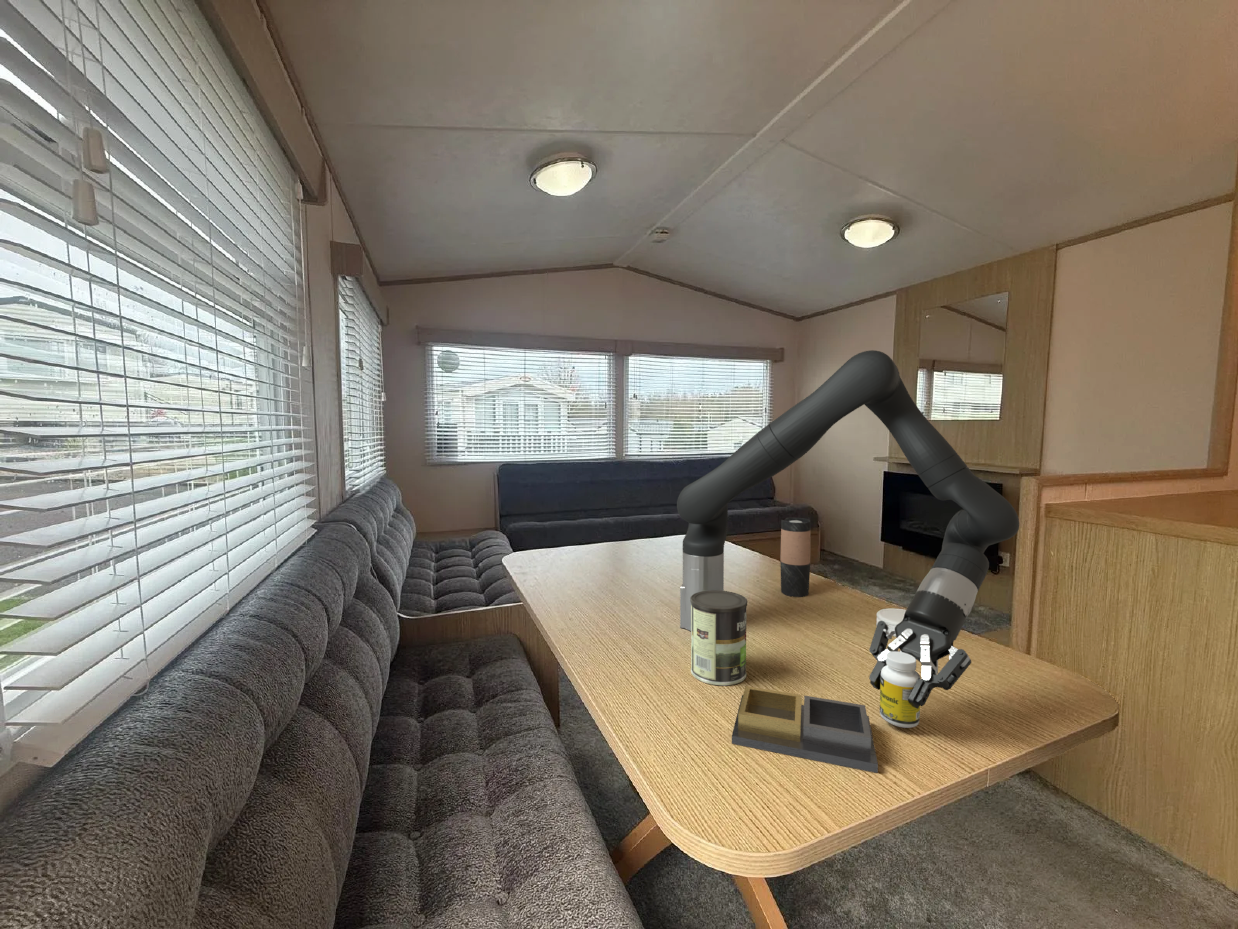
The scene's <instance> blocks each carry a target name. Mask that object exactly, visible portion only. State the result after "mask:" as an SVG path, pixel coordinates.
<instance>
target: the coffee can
mask: <svg viewBox="0 0 1238 929" xmlns="http://www.w3.org/2000/svg"><path fill="white" fill-rule="evenodd" d="M690 602H691V631H690V637H691V638H690V642H691V643H690V646H691V648H690V651H691V652H690V656H691V657H690V658H691V660H690V662H691V664H690V667H691V668H690V673H691V675H692V676H693V678H695V679H696V680H698V681H700V682H702V683H705V684H708V685H711V686H725V687H726V686H734V685H738V684H739V683H741V682H743V681H744V680H745V679H746V678H747V608H748V607H747V606H748V598H746V597H745V596H743V595H742V594H740V593H736V592H733V591H728V590H724V591H721V590H709V591H701V592H697V593H695V594H693V595H692V596H691V597H690Z"/></svg>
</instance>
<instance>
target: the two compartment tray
mask: <svg viewBox="0 0 1238 929" xmlns="http://www.w3.org/2000/svg"><path fill="white" fill-rule="evenodd" d="M744 686H745V687H744V689H743V694H742V695H741V698H740V702H739V706H738V709H737V714H736V718H735V722H734V725H733V729H732V733H731V744H732V745H736V746H741V747H747V748H753V749H755V750H756V749H757V750H761V751H762V750H763V751H765V752H771V753H778V754H783V755H786V756H791V757H796V758H800V759H801V758H802V759H806V760H811V761H817V762H821V763H827V764H831V765H835V766H841V767H846V768H850V769H855V770H861V771H865V772H871V773H877V774H878V771H879V770H878V769H879V764H878V757H877V752H876V749H875V742H874V737H873V732H872V727H871V722H870V721H871V720H870V717H869V715H868V713H867V709H866V705H865V704H861V703H860V704H859V703H854V702H853V703H852V702H846V701H840V700H835V699H829V698H822V697H815V696H810V695H803V696H804V697H802V694H799V693H797V694H796V693H793V692H786V691H779V690H773V689H767V688H762V687H761V688H760V687H755V686H748V685H744ZM802 698H804V699H802ZM802 700H803V704H802Z"/></svg>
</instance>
